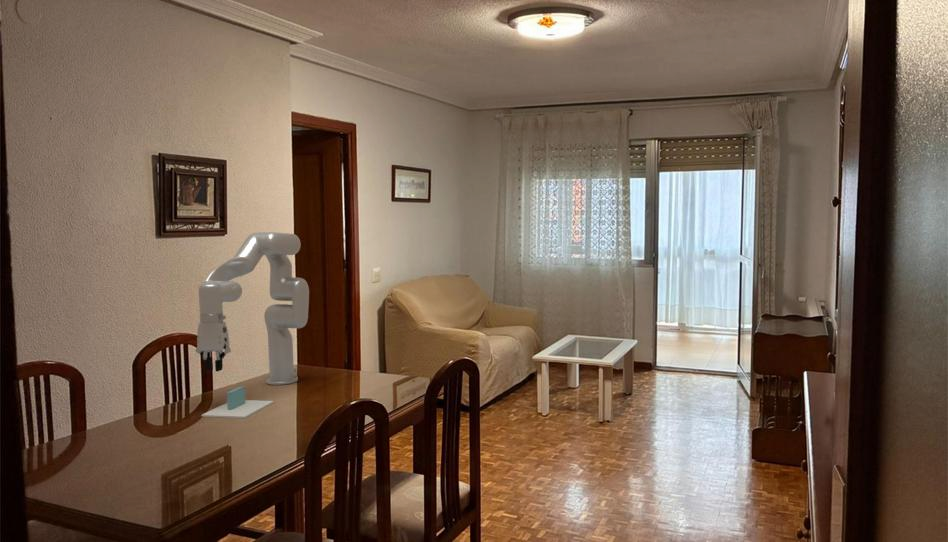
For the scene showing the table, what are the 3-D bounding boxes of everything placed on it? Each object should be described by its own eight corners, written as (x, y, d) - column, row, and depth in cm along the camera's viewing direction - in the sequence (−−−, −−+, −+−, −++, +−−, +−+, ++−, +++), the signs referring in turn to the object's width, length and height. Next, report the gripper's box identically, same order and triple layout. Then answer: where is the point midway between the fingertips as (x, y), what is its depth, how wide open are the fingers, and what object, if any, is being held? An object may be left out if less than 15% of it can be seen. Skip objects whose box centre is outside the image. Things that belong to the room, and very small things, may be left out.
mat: (233, 401, 256) (233, 399, 256) (273, 402, 253) (273, 401, 253) (201, 416, 237) (201, 414, 237) (244, 418, 234) (244, 416, 234)
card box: (240, 402, 252) (240, 386, 251) (245, 402, 251) (244, 386, 251) (227, 409, 243) (226, 392, 242) (231, 409, 243) (231, 392, 242)
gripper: (238, 317, 249) (241, 368, 250) (196, 317, 252) (199, 367, 253) (227, 320, 241) (229, 373, 243) (184, 320, 245) (186, 372, 246)
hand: (214, 370), depth 248 cm, fingers open, 3 cm apart
